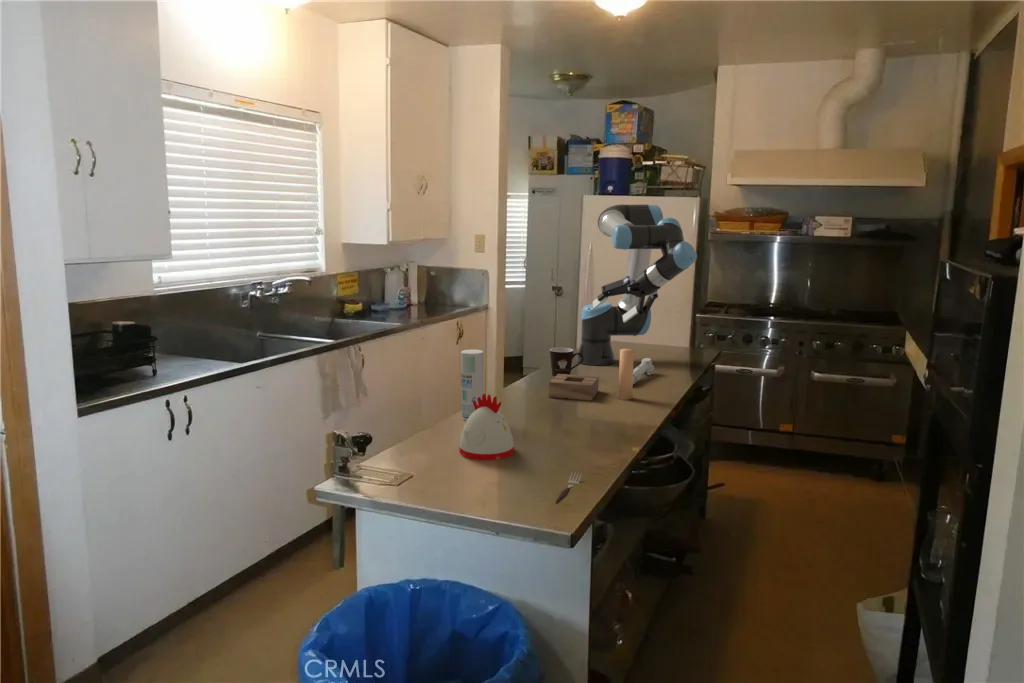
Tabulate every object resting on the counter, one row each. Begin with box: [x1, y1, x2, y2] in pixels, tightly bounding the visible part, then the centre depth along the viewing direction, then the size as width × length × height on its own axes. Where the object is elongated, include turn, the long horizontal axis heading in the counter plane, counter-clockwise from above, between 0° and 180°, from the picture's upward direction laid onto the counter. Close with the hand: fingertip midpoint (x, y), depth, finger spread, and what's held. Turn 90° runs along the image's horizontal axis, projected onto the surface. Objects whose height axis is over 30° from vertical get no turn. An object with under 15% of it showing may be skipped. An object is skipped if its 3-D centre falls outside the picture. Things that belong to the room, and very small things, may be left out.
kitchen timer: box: [458, 393, 515, 461], centre depth 190 cm, size 14×14×15 cm
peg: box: [618, 348, 635, 401], centre depth 242 cm, size 4×4×16 cm
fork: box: [555, 470, 583, 504], centre depth 165 cm, size 3×16×2 cm, turn 159°
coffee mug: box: [549, 347, 583, 377], centre depth 272 cm, size 12×9×10 cm
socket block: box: [548, 374, 599, 401], centre depth 248 cm, size 13×14×5 cm
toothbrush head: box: [633, 357, 655, 385], centre depth 269 cm, size 5×7×25 cm
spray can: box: [460, 349, 485, 422], centre depth 218 cm, size 6×6×20 cm
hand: (608, 312), depth 252 cm, fingers open, 13 cm apart
